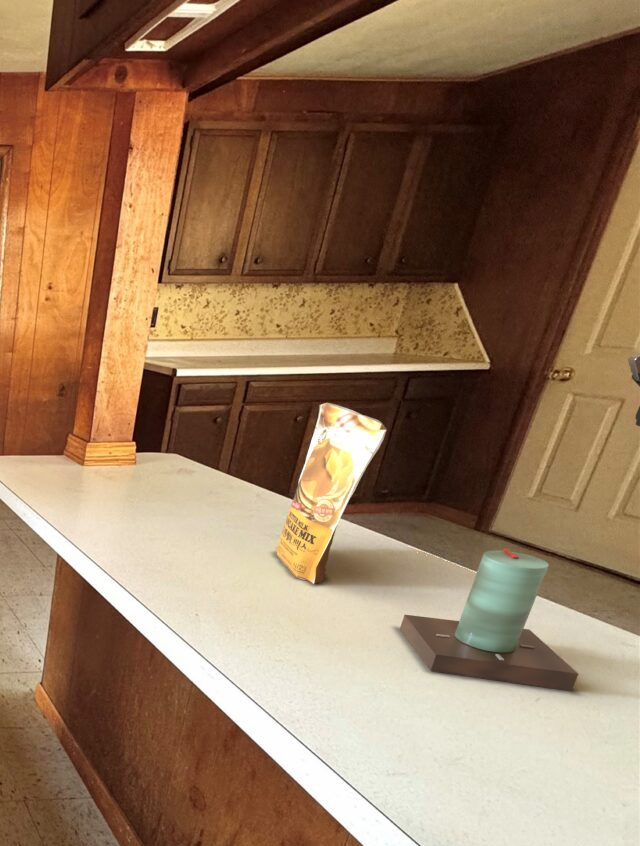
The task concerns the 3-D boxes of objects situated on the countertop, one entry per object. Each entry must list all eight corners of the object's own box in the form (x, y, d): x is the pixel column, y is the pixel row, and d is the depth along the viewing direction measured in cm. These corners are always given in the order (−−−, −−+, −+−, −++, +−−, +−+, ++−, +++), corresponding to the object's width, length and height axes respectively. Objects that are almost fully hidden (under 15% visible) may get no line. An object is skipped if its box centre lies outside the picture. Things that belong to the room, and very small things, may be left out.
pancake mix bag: (305, 548, 126) (342, 400, 116) (346, 590, 109) (394, 421, 99) (266, 545, 128) (298, 400, 118) (300, 586, 111) (342, 421, 101)
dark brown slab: (523, 645, 92) (530, 628, 91) (571, 691, 82) (579, 673, 81) (399, 629, 97) (404, 613, 96) (430, 671, 87) (436, 653, 86)
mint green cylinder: (524, 656, 85) (560, 568, 80) (464, 648, 87) (496, 562, 82) (503, 634, 90) (535, 551, 85) (447, 627, 92) (476, 545, 88)
